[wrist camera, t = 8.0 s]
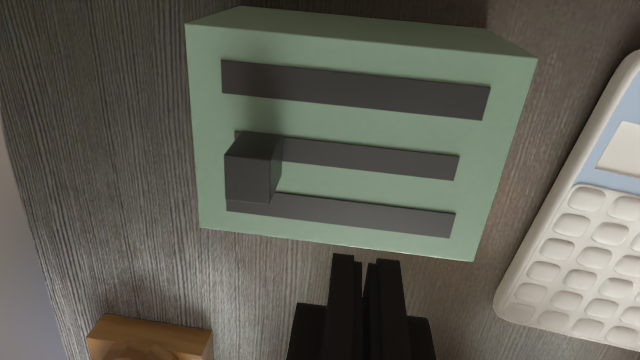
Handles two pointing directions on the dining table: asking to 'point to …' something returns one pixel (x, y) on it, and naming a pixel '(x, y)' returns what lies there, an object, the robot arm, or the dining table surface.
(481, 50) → the toaster
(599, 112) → the calculator
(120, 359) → the block
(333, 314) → the robot arm
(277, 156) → the slider
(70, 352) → the dining table surface
